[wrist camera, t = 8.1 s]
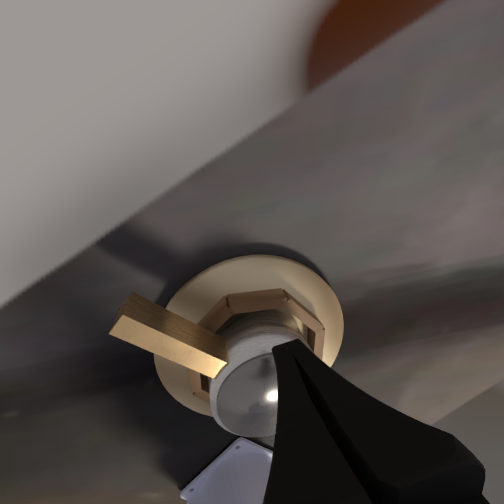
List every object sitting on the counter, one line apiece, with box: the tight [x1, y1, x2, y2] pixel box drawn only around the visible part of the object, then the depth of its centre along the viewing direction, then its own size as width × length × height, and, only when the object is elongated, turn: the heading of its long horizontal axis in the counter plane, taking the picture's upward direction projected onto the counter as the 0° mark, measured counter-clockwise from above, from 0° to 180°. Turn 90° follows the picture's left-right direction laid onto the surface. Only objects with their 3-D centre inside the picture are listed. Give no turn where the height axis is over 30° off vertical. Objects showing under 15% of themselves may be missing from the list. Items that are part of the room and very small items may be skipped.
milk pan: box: [109, 292, 313, 437], centre depth 19 cm, size 15×8×5 cm, turn 52°
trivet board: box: [154, 254, 344, 417], centre depth 23 cm, size 16×16×2 cm
